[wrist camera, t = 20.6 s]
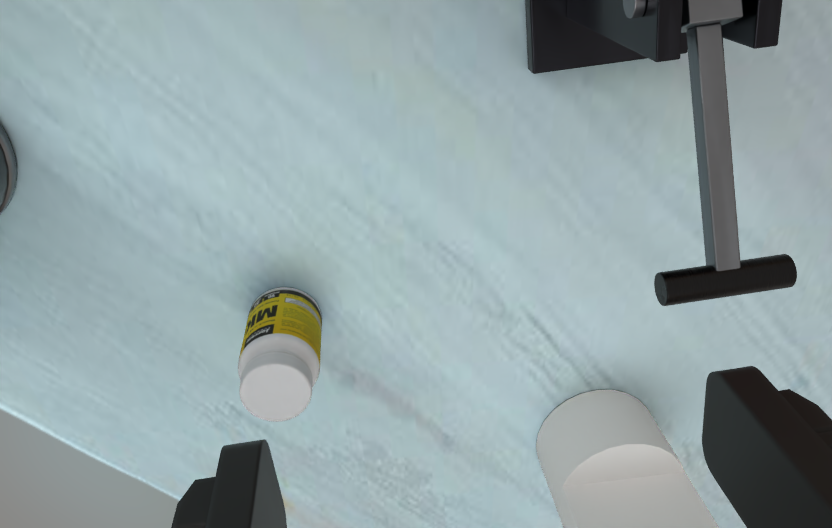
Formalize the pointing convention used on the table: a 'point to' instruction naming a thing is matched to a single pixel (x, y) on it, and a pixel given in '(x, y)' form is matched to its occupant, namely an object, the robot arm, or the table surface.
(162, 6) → the table surface
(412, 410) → the table surface
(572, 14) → the lever bracket
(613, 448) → the cylinder with rectangular tab
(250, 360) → the supplement bottle
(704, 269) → the lever
